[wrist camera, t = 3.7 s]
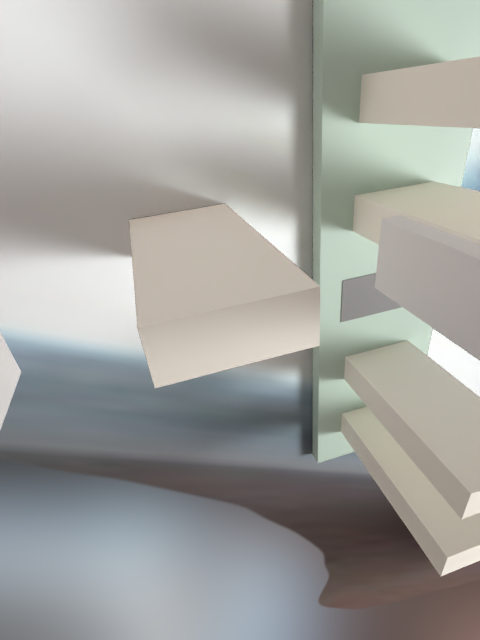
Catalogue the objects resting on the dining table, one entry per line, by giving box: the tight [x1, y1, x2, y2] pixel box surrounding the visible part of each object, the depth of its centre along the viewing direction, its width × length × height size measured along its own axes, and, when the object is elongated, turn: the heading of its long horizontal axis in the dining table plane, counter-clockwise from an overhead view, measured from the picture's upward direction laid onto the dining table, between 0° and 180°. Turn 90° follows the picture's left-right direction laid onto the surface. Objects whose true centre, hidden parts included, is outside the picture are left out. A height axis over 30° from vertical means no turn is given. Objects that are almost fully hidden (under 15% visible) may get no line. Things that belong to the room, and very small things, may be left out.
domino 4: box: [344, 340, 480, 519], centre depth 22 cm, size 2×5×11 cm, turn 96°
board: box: [313, 0, 480, 463], centre depth 24 cm, size 30×9×1 cm, turn 6°
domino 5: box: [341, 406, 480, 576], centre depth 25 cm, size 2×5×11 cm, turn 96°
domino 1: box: [129, 204, 320, 388], centre depth 15 cm, size 2×5×11 cm, turn 96°
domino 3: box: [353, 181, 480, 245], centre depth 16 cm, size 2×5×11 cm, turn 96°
